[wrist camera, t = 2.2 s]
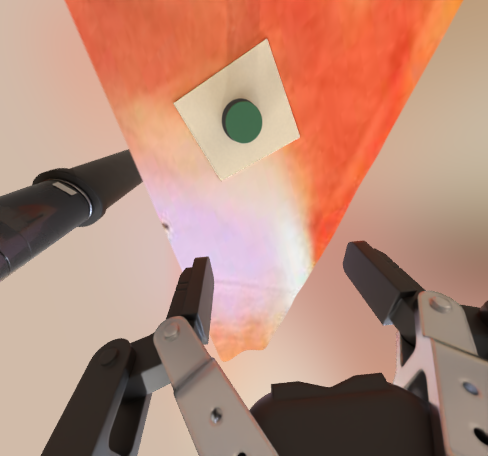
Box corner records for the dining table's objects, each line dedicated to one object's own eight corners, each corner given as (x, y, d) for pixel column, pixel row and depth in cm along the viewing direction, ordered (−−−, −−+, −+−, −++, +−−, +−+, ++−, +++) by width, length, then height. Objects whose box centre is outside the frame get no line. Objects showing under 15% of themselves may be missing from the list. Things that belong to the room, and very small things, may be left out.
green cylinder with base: (233, 147, 33) (234, 159, 24) (214, 112, 30) (208, 111, 21) (264, 129, 32) (277, 134, 23) (248, 90, 29) (255, 80, 20)
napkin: (221, 181, 36) (221, 181, 36) (173, 103, 29) (173, 103, 29) (299, 136, 33) (300, 137, 33) (266, 38, 26) (266, 38, 26)
